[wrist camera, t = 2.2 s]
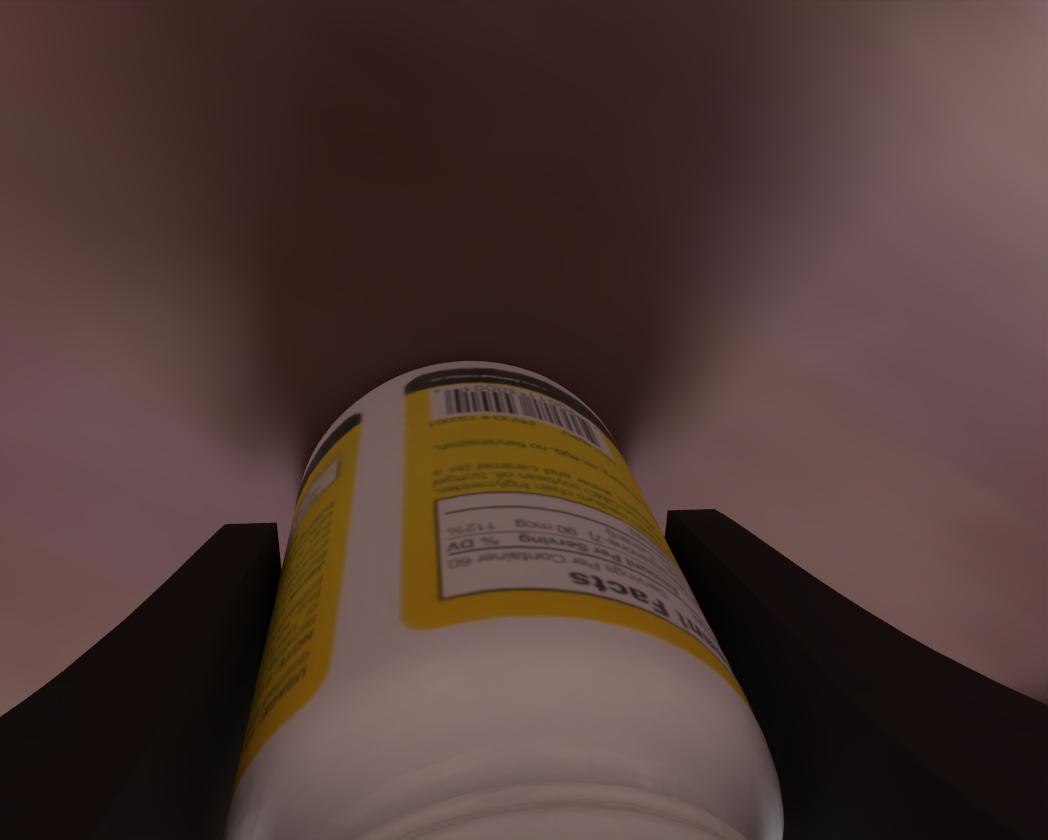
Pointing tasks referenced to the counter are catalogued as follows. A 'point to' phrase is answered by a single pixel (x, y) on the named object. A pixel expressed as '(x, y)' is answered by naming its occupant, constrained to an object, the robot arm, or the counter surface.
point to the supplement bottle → (490, 639)
